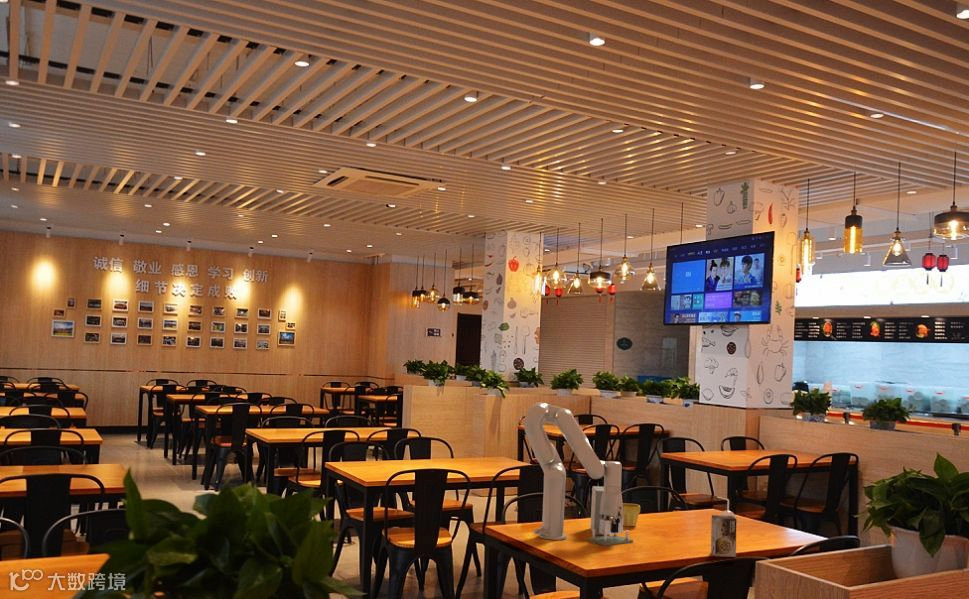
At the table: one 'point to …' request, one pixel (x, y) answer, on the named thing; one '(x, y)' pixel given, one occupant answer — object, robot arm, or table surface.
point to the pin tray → (609, 539)
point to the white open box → (609, 526)
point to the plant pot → (630, 514)
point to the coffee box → (723, 536)
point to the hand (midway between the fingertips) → (611, 531)
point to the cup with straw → (727, 512)
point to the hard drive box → (596, 509)
